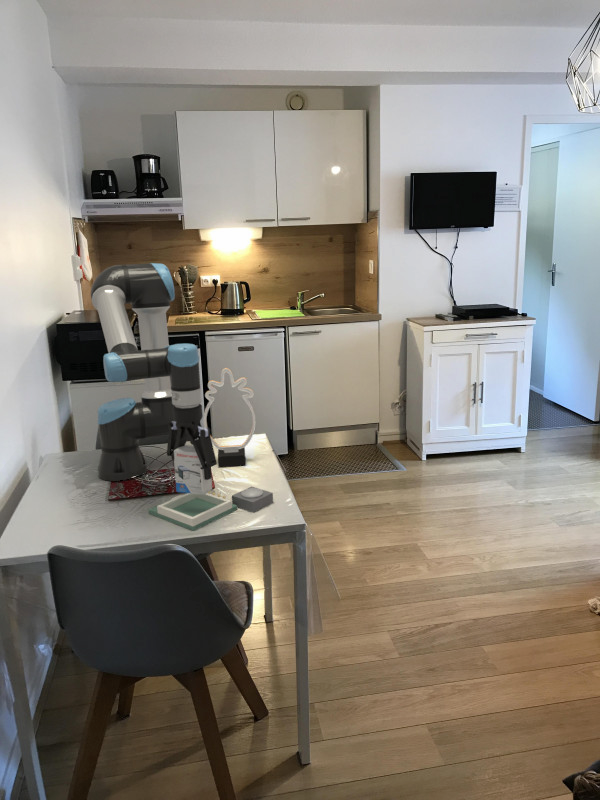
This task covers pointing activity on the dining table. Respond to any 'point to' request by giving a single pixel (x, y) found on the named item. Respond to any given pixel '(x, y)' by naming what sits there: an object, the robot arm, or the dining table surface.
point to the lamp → (236, 453)
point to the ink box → (188, 470)
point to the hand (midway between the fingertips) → (193, 486)
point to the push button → (252, 499)
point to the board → (193, 509)
